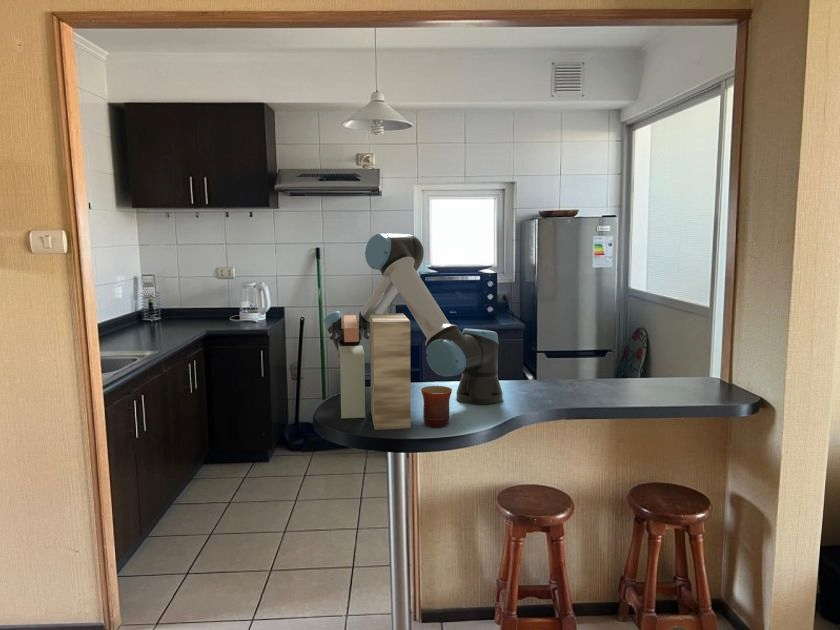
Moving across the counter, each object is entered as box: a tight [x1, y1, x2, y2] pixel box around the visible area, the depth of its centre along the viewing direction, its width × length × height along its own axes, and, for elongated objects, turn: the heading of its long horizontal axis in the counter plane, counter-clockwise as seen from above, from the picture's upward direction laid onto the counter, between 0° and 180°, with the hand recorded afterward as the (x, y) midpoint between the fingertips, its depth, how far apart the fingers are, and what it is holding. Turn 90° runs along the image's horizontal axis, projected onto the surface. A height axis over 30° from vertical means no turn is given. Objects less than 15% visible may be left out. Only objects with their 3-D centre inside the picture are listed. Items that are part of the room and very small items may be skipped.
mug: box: [420, 385, 453, 429], centre depth 171 cm, size 12×9×10 cm
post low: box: [339, 345, 366, 419], centre depth 182 cm, size 14×7×19 cm, turn 8°
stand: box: [369, 313, 412, 431], centre depth 173 cm, size 18×10×30 cm, turn 8°
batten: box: [344, 314, 359, 342], centre depth 184 cm, size 28×4×4 cm, turn 8°
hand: (350, 317), depth 188 cm, fingers closed on batten, 4 cm apart
